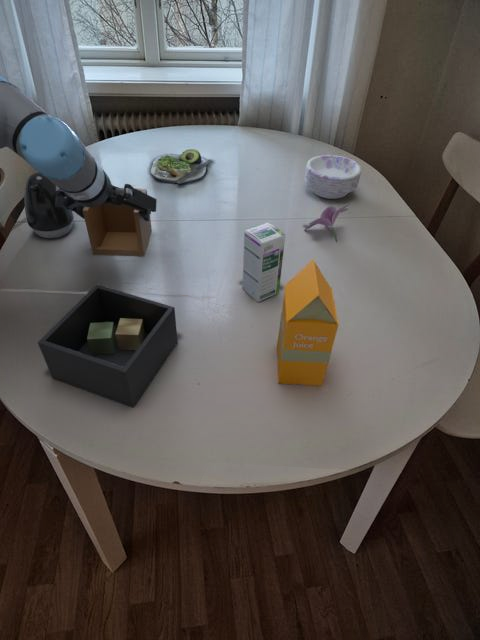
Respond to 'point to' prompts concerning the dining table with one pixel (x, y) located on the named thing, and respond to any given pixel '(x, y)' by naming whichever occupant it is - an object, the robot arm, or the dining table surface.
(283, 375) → the orange juice
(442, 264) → the dining table surface
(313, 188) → the paper bowls
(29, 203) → the dark grey rounded cone
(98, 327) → the cube sage
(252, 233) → the syrup box
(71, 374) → the basket
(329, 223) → the lily
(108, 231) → the box
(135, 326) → the cube cream
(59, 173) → the robot arm
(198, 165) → the salad plate
